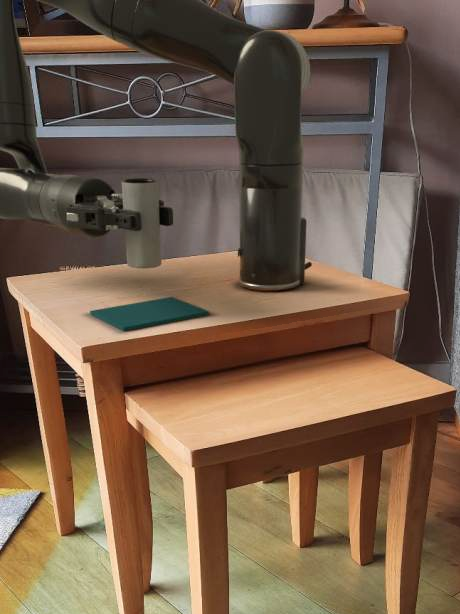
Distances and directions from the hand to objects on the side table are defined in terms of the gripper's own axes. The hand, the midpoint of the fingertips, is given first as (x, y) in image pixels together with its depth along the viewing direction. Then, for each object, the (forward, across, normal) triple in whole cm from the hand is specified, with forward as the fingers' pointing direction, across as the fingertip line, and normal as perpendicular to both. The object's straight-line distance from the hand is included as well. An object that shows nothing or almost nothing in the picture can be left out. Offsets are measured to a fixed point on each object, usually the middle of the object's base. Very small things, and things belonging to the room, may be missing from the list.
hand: (155, 219), depth 94 cm
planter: (-3, 0, +6) cm, 7 cm away
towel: (-2, 0, +12) cm, 13 cm away
